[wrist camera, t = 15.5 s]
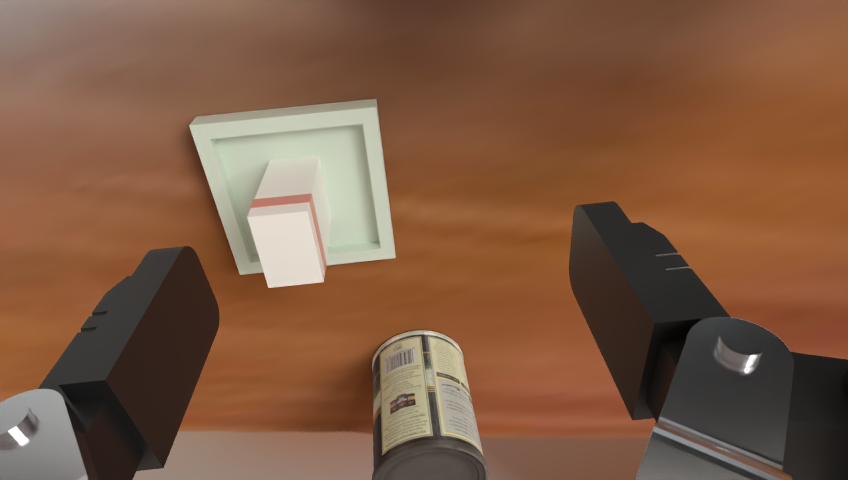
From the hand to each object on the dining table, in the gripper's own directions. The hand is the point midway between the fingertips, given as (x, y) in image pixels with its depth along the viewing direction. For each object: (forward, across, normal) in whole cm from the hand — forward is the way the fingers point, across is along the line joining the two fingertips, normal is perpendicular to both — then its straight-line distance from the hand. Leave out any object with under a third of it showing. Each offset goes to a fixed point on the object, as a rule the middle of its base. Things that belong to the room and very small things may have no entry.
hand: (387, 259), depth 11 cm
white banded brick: (+30, +9, +13) cm, 34 cm away
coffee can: (+31, +1, +37) cm, 48 cm away
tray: (+30, +9, +14) cm, 34 cm away
